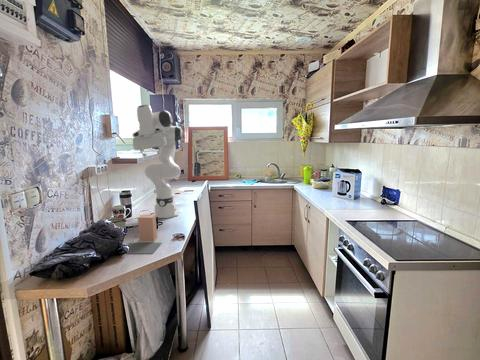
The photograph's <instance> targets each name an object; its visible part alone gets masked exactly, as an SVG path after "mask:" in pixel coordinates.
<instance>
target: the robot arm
mask: <svg viewBox="0 0 480 360" xmlns="http://www.w3.org/2000/svg"><path fill="white" fill-rule="evenodd" d="M136 112H137V113H136V117H137V121H138V124H139V128H138V130H136V131H134V132H133V133H132V137H133V139H132V147H133V149H134V150H135V151H139V152H140V153H141V154H142V157H144V158H145V157H147V153H145V152H144V151H145V150H147V149H153V148H158V150H157V151H156V154H157V155H158V160H159V162H160V163H154V164H148V165H147V166H146V167H145V169H144V174H145V176H146V178H148V179H149V180H150V181H151V182H152V183H153V185H154V188H155V193H156V198H155V201H156V203H155V205H154V213H153V214H152V215H156V218H157V217H158V218H157V219H169V218H170V219H171V218H173V217H178V216H179V214H178V213H180V210H179V209H177V205H176V203H175V202H174V196H173V191H172V189H173V188H172V186H171V184H169V183H167V182H165V180H173V179H177V178H179V177H180V176H181V174H182V173H181V172H182V171H181V170H182V169H181V167H180V165H178V164H177V163H176V162H175V155H176V143H179V141H181V139H182V138H183V133H184V132H183V128H182V127H181V126H178V125H173V124H174V119H173V116H172V114H171V113H170V111H168V110H165V109H164V110H161V111H155V112H153V110H152V107H151V105H149V104H143V105H142V104H141V105H138V106H137V107H136Z"/></svg>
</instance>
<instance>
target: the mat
mask: <svg viewBox="0 0 480 360" xmlns="http://www.w3.org/2000/svg"><path fill="white" fill-rule="evenodd" d="M162 244H163V242H128V243H127V244H126V245H127V246H128V247H129V251H128V252H127V253H125V254H124V255H154V254H155V252H156V251H157V250H158V249H159V247H161V245H162Z"/></svg>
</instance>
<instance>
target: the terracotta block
mask: <svg viewBox="0 0 480 360" xmlns="http://www.w3.org/2000/svg"><path fill="white" fill-rule="evenodd" d="M137 220H138V221H137V223H138V235H139V236H138V237H139V243H156V241H157V239H158V232H157V230H158V229H157V217H156V215H153V214H141V215H139V216H138V217H137Z"/></svg>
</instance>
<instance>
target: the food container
mask: <svg viewBox="0 0 480 360" xmlns="http://www.w3.org/2000/svg"><path fill="white" fill-rule="evenodd" d="M107 220H108V221H111V222H112V223H114V224H115V225H116V226H118V227H122V228H125V229H126V222H127V219H126V218H125V217H116V218H109V219H107Z"/></svg>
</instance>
